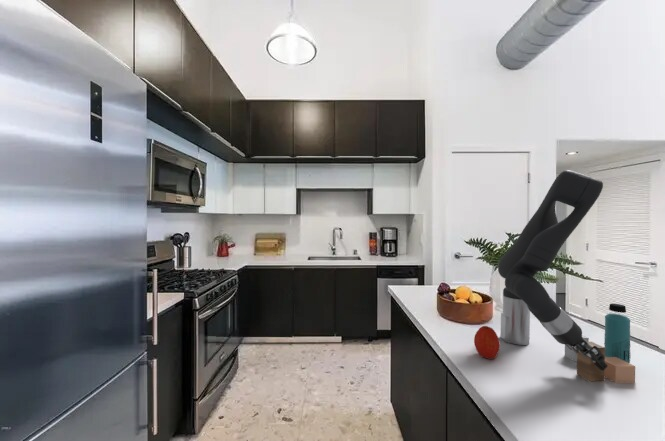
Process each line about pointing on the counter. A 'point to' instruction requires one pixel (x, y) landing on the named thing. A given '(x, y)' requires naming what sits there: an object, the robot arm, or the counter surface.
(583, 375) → the tan rectangular block
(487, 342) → the red ellipsoid
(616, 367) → the terracotta block
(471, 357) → the counter surface
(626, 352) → the beverage bottle
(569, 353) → the grey post
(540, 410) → the counter surface
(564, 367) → the counter surface
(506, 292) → the robot arm
